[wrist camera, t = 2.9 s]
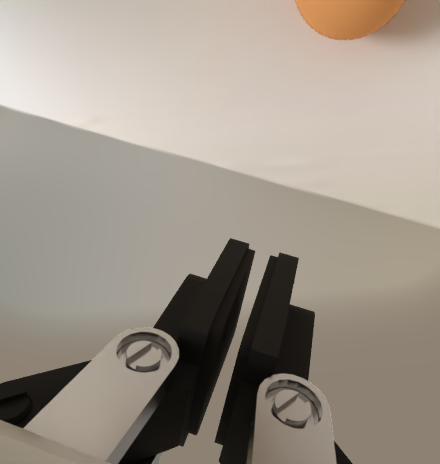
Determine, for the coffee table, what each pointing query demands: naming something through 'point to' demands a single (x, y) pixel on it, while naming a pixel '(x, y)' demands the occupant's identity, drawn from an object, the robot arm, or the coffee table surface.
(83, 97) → the coffee table surface
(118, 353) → the robot arm
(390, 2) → the ball
